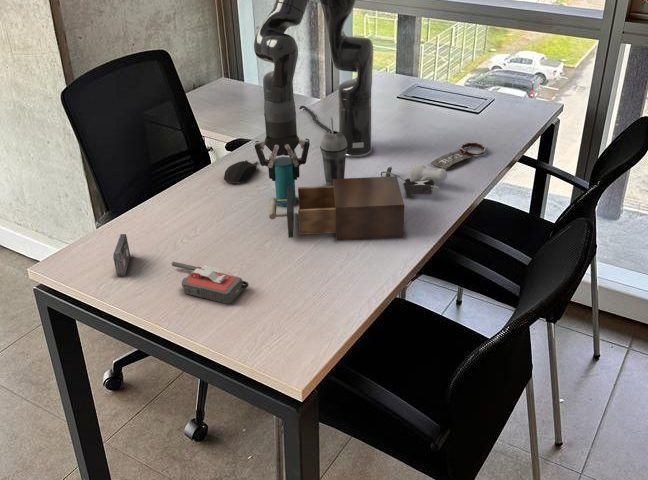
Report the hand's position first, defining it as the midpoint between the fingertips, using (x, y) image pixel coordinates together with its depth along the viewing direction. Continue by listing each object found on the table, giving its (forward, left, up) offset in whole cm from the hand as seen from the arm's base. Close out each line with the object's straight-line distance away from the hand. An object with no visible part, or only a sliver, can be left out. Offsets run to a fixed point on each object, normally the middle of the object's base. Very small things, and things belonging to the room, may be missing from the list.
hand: (284, 178), depth 184 cm
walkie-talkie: (+37, -17, -7) cm, 41 cm away
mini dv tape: (+27, -36, -7) cm, 46 cm away
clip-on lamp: (-6, +33, -7) cm, 34 cm away
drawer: (+13, +6, -6) cm, 15 cm away
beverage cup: (-8, +13, -7) cm, 17 cm away
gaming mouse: (-18, -12, -7) cm, 22 cm away
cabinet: (+13, +20, -7) cm, 25 cm away
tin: (0, 0, -7) cm, 7 cm away
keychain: (-22, +49, -7) cm, 54 cm away
